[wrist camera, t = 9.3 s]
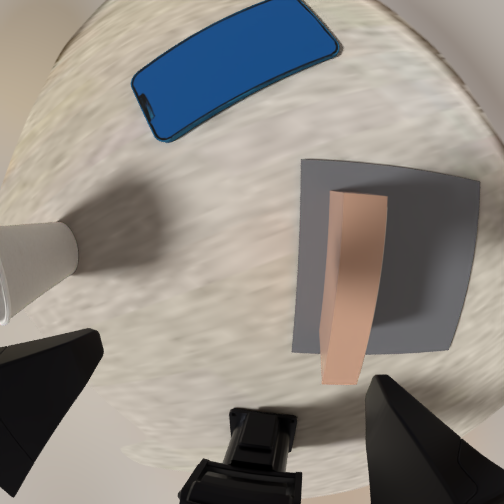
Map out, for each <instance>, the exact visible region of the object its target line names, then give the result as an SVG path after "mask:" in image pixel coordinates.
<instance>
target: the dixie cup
mask: <svg viewBox="0 0 504 504" xmlns="http://www.w3.org/2000/svg"><path fill="white" fill-rule="evenodd" d="M77 265H78V247H77V243H76V240H75V237H74V235H73V233H72V231H71V230H70V228H69V227H68V226H67V225H66V224H64V223H62V222H50V223H35V224H22V225H10V226H0V324H1V325H7V324H8V323H9V321H10V319H11V318H12V317H13V316H14V315H16V314H17V313H18V312H20V311H21V310H22V309H24V308H25V307H26V306H28V305H29V304H30V303H32V302H33V301H34V300H36V299H37V298H38V297H40V296H41V295H43V294H44V293H45V292H47V291H48V290H50V289H51V288H52V287H54V286H55V285H57V284H59V283H60V282H61V281H63V280H64V279H65V278H67V277H68V276H70V275H71V274H73V273H74V272H75V270H76V268H77Z"/></svg>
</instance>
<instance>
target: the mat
mask: <svg viewBox="0 0 504 504" xmlns="http://www.w3.org/2000/svg"><path fill="white" fill-rule="evenodd" d="M330 191H345V192H359V193H367V194H375V195H382V196H388V198H387V222H386V234H385V244H384V254H383V262H382V269H381V277H380V283H379V290H378V296H377V301H376V307H375V312H374V317H373V322H372V327H371V332H370V336H369V341H368V345H367V349H366V353H365V355H371V354H403V353H420V352H433V351H444V350H449V347H450V345H451V342H452V339H453V336H454V333H455V330H456V327H457V324H458V320H459V317H460V313H461V310H462V306H463V303H464V299H465V295H466V291H467V286H468V282H469V277H470V272H471V267H472V262H473V256H474V249H475V243H476V235H477V226H478V215H479V200H480V182H479V181H475V180H470V179H466V178H461V177H456V176H451V175H446V174H440V173H434V172H428V171H422V170H416V169H409V168H401V167H394V166H385V165H376V164H366V163H355V162H342V161H326V160H304V159H301V197H300V232H299V256H298V275H297V291H296V306H295V319H294V331H293V343H292V352H295V353H313V354H320V337H319V328H320V320H321V311H322V302H323V293H324V283H325V271H326V259H327V244H328V227H329V204H330Z"/></svg>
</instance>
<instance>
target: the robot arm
mask: <svg viewBox="0 0 504 504" xmlns="http://www.w3.org/2000/svg"><path fill="white" fill-rule="evenodd" d="M103 354H104V349H103V345H102V342H101V338H100V334H99V332H98V331H97V330H94V329H91V328H86V329H82V330H78V331H74V332H69V333H65V334H61V335H56V336H52V337H48V338H43V339H39V340H34V341H29V342H25V343H20V344H15V345H11V346H8V347H7V346H5V347H0V487H1V488H2V489H3V490H4V491H6V492H7V493H8V494H9V495H10V496H11V497H15V495H16V494H17V492H18V490H19V488H20V487H21V485H22V483H23V481H24V480H25V478H26V476H27V474H28V473H29V471H30V469H31V468H32V466H33V464H34V462H35V461H36V459H37V457H38V456H39V454H40V453H41V451H42V449H43V448H44V446H45V445H46V443H47V442H48V440H49V439H50V437H51V435H52V434H53V432H54V431H55V429H56V428H57V426H58V425H59V423H60V422H61V420H62V419H63V417H64V416H65V414H66V413H67V412H68V410H69V409H70V407H71V406H72V404H73V403H74V401H75V400H76V399H77V397H78V396H79V394H80V393H81V392H82V390H83V388H84V387H85V386H86V384H87V382H88V381H89V379H90V377H91V375H92V374H93V372H94V370H95V369H96V367H97V365H98V363H99V362H100V360H101V358H102V357H103ZM365 415H366V452H367V461H368V471H369V482H370V497H371V504H504V469H502V468H501V467H499V466H498V465H496V464H495V463H493V462H492V461H490V460H489V459H487V458H486V457H485V456H483V455H482V454H480V453H479V452H478V451H477V450H475V449H474V448H473V447H472V446H470V445H469V444H468V443H467V442H466V441H464V440H463V439H461V437H460V436H459V435H457V434H456V433H455V432H454V431H453V430H452V429H450V428H449V427H448V426H447V425H446V424H444V423H443V422H442V421H441V420H440V419H439V418H437V417H436V416H435V415H434V414H433V413H432V412H430V411H429V410H428V409H427V408H426V407H425V406H423V405H422V404H421V403H420V402H419V401H418V400H416V399H415V398H414V397H413V396H412V395H411V394H409V393H408V392H407V391H406V390H405V389H404V388H403V387H401V386H400V385H399V384H398V383H397V382H396V381H394V380H393V379H392V378H391V377H390V376H388V375H375V376H374V377H373V378H372V381H371V383H370V386H369V389H368V391H367V394H366V398H365ZM229 418H230V430H231V440H230V443H229V446H228V449H227V452H226V455H225V457H224V460H223V463H217V462H213V461H209V460H208V459H204V458H203V459H202V461H201V462H200V464H198V465H197V467H196V468H195V470H194V471H193V473H192V474H191V476H190V477H189V479H188V481H187V482H186V483H185V485H184V487H183V488H182V490H181V491H179V493H178V498H179V499H180V503H179V504H301V490H302V472H296V473H290V472H285V471H286V464H287V457H288V453H289V452H291V450H292V445H293V440H294V435H295V430H296V425H297V417H296V416H294V415H282V414H271V413H262V412H254V411H246V410H239V409H231V410H230V413H229Z"/></svg>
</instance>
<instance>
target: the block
mask: <svg viewBox="0 0 504 504" xmlns="http://www.w3.org/2000/svg"><path fill="white" fill-rule="evenodd" d="M387 198H388V196H382V195H375V194H367V193H359V192H345V191H330V204H329V227H328V244H327V259H326V271H325V283H324V293H323V302H322V311H321V320H320V328H319V337H320V354H321V376H322V384H335V385H355V384H357V382H358V378H359V375H360V372H361V369H362V365H363V361H364V357H365V353H366V349H367V345H368V341H369V336H370V332H371V327H372V322H373V317H374V312H375V307H376V301H377V296H378V290H379V283H380V277H381V269H382V262H383V254H384V244H385V234H386V222H387Z"/></svg>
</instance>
